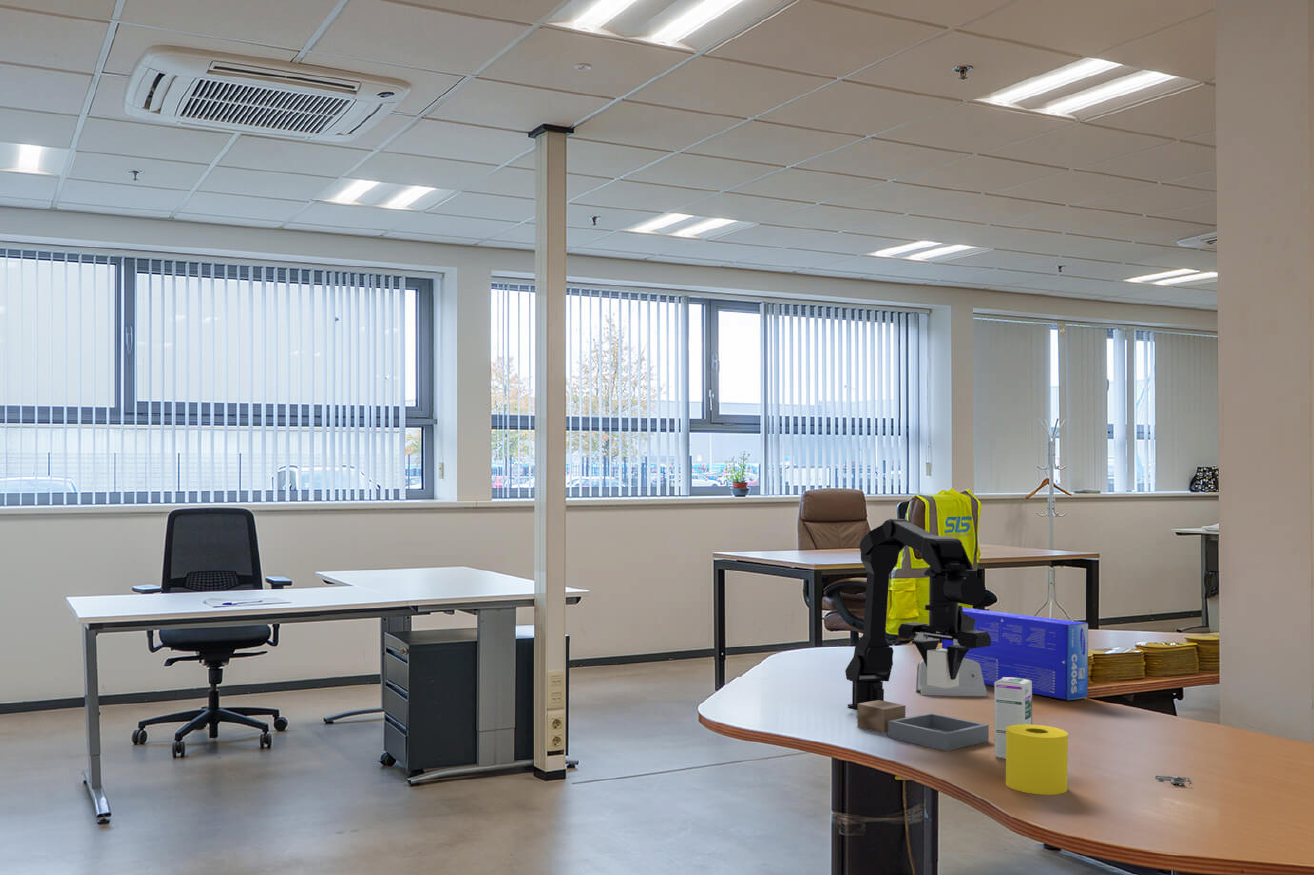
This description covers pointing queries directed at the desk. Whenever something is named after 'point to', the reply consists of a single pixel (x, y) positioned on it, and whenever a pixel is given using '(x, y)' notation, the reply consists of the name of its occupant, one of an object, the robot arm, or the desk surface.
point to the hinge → (968, 681)
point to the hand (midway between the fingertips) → (942, 677)
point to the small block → (939, 669)
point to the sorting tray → (938, 731)
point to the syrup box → (1011, 708)
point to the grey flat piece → (1173, 779)
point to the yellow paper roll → (1036, 759)
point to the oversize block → (878, 715)
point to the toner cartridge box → (1032, 652)
